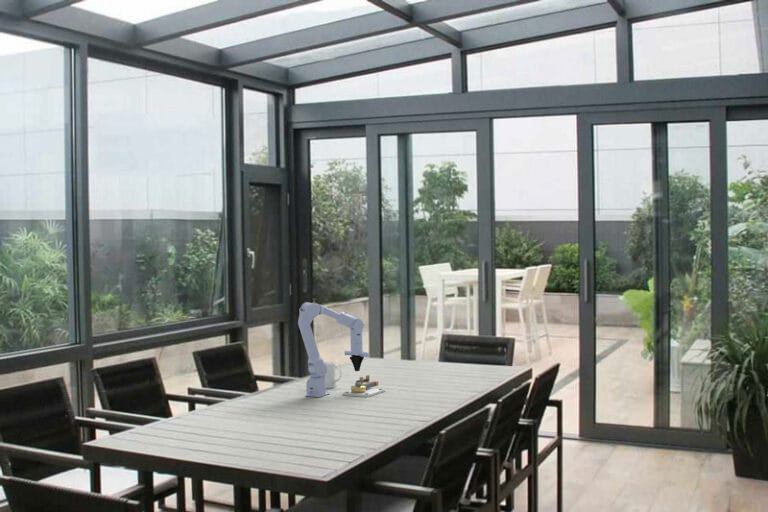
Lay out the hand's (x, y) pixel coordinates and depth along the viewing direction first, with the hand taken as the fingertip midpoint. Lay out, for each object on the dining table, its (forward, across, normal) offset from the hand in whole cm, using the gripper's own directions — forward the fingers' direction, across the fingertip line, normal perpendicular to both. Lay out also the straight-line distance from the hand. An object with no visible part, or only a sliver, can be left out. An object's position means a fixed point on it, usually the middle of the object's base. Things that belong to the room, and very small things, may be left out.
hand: (357, 370), depth 430 cm
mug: (+10, +18, 0) cm, 21 cm away
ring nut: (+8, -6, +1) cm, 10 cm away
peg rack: (+10, +5, -11) cm, 15 cm away
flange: (+10, -8, +4) cm, 13 cm away
